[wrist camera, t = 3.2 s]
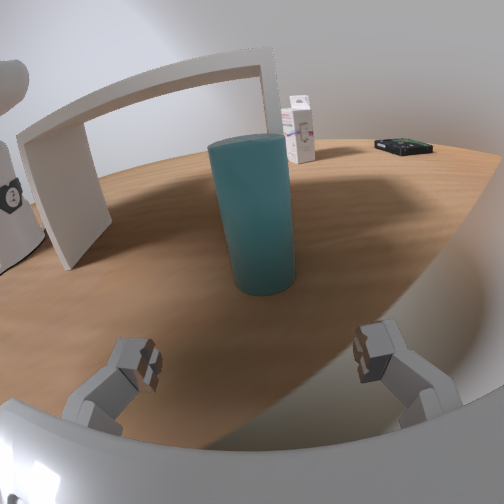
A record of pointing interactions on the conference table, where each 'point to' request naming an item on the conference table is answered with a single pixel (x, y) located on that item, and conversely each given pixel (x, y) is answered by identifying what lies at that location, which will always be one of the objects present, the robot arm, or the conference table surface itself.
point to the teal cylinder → (256, 210)
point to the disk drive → (403, 147)
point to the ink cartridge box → (299, 130)
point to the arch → (78, 152)
